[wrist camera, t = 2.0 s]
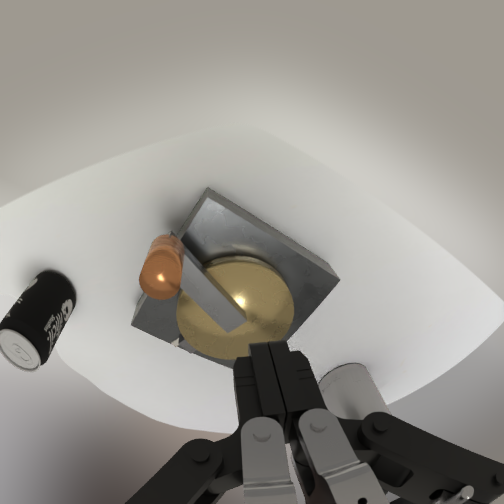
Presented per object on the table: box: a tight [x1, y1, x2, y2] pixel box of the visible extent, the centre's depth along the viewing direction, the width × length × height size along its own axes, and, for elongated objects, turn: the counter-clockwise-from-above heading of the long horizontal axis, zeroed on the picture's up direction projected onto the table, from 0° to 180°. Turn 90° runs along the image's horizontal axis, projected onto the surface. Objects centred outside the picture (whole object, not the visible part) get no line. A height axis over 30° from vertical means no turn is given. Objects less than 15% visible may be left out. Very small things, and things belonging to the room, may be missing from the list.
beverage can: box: [0, 272, 75, 372], centre depth 28 cm, size 7×7×12 cm
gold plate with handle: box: [139, 231, 294, 360], centre depth 28 cm, size 18×13×8 cm
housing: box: [131, 188, 340, 369], centre depth 34 cm, size 17×17×4 cm
